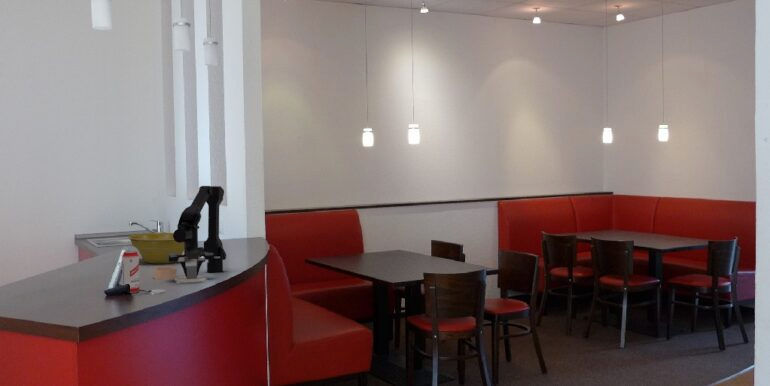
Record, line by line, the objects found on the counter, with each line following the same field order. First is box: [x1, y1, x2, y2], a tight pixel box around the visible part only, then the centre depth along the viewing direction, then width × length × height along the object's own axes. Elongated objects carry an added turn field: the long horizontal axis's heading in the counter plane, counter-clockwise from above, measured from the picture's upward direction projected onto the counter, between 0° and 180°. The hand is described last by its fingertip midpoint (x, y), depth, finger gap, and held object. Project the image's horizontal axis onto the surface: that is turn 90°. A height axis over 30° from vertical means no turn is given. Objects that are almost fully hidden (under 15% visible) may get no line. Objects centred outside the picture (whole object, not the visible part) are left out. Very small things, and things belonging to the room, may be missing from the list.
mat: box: [174, 277, 210, 284], centre depth 309 cm, size 13×13×1 cm
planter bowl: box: [127, 232, 184, 264], centre depth 369 cm, size 32×32×13 cm
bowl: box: [153, 266, 177, 280], centre depth 316 cm, size 9×9×4 cm
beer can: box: [121, 250, 140, 294], centre depth 283 cm, size 6×6×16 cm
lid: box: [176, 265, 207, 283], centre depth 309 cm, size 12×12×6 cm
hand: (191, 276), depth 309 cm, fingers closed on lid, 4 cm apart
